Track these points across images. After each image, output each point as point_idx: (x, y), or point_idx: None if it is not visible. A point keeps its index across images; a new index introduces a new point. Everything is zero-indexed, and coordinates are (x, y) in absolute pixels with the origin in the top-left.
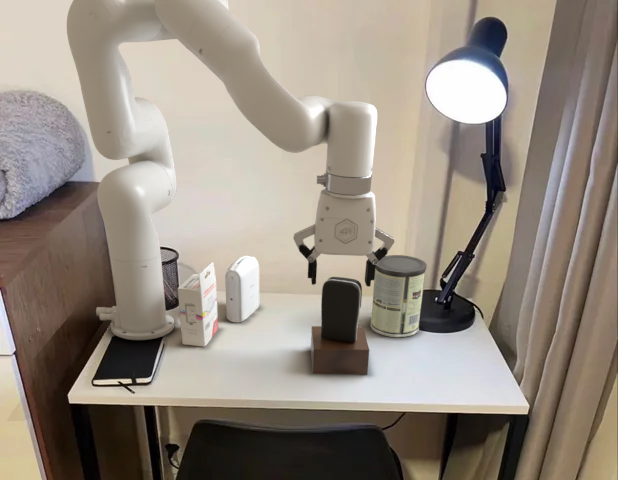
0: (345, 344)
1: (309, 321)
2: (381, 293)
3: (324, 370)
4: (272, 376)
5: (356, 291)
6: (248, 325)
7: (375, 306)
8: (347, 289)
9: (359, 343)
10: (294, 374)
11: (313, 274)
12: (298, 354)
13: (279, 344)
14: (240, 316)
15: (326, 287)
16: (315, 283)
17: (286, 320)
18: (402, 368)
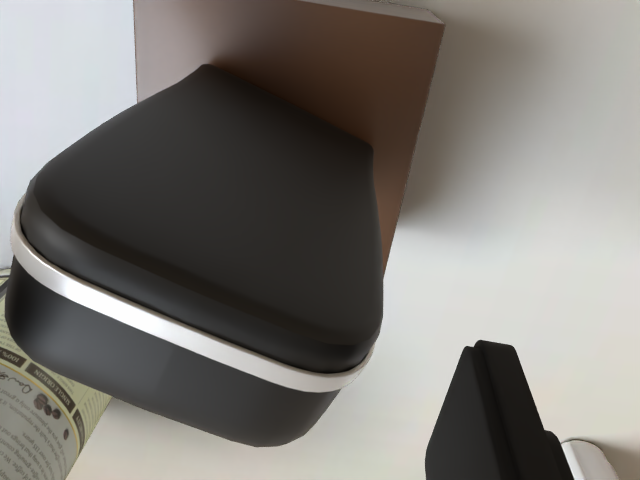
0: (256, 62)
1: (333, 414)
2: (17, 431)
3: (377, 2)
4: (620, 9)
5: (53, 178)
6: (548, 419)
7: (78, 397)
8: (144, 221)
9: (179, 64)
10: (512, 16)
11: (532, 430)
12: (438, 196)
13: (487, 282)
14: (577, 458)
15: (349, 311)
16: (471, 349)
17: (408, 430)
18: (22, 11)
